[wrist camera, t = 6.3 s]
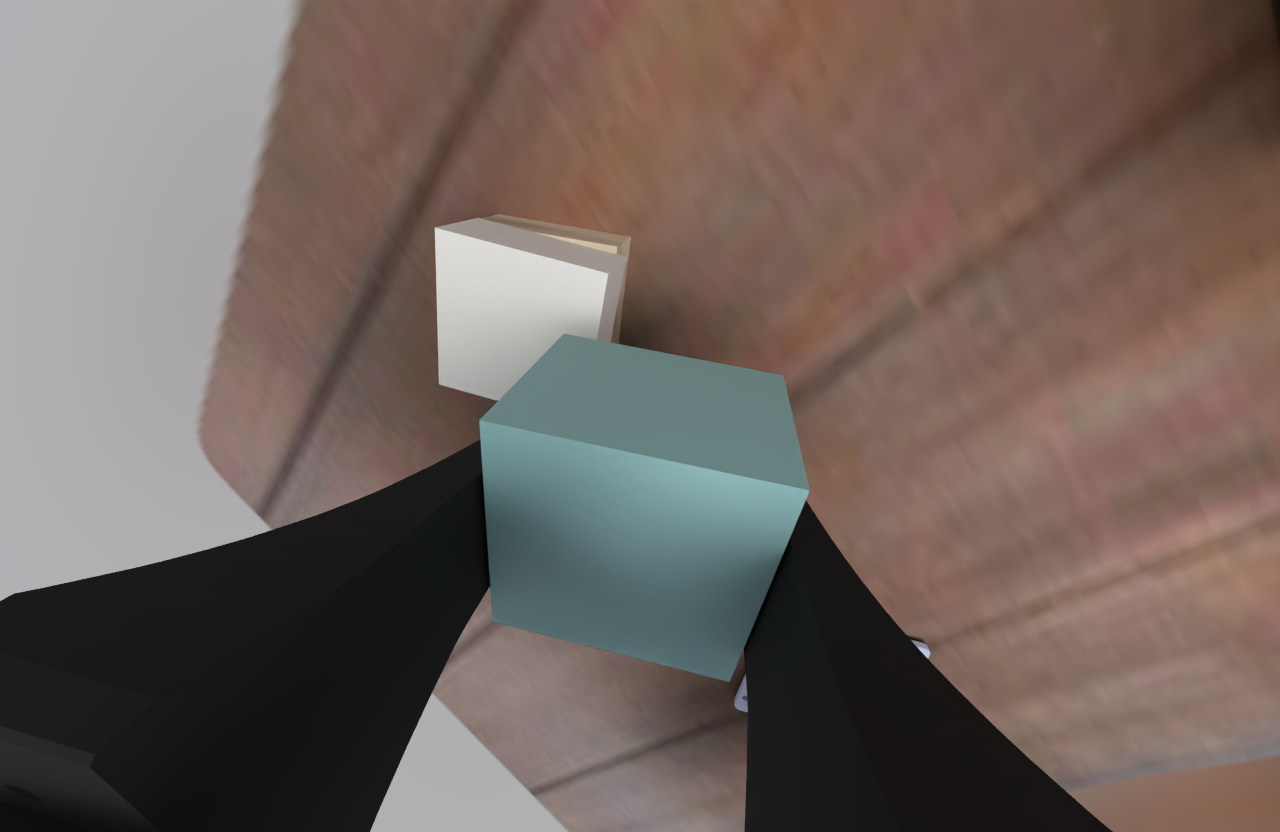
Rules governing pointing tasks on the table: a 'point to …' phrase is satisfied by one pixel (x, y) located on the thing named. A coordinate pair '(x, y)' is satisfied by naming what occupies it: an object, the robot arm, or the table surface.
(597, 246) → the maple brick
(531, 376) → the teal brick
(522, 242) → the white brick
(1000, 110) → the table surface
